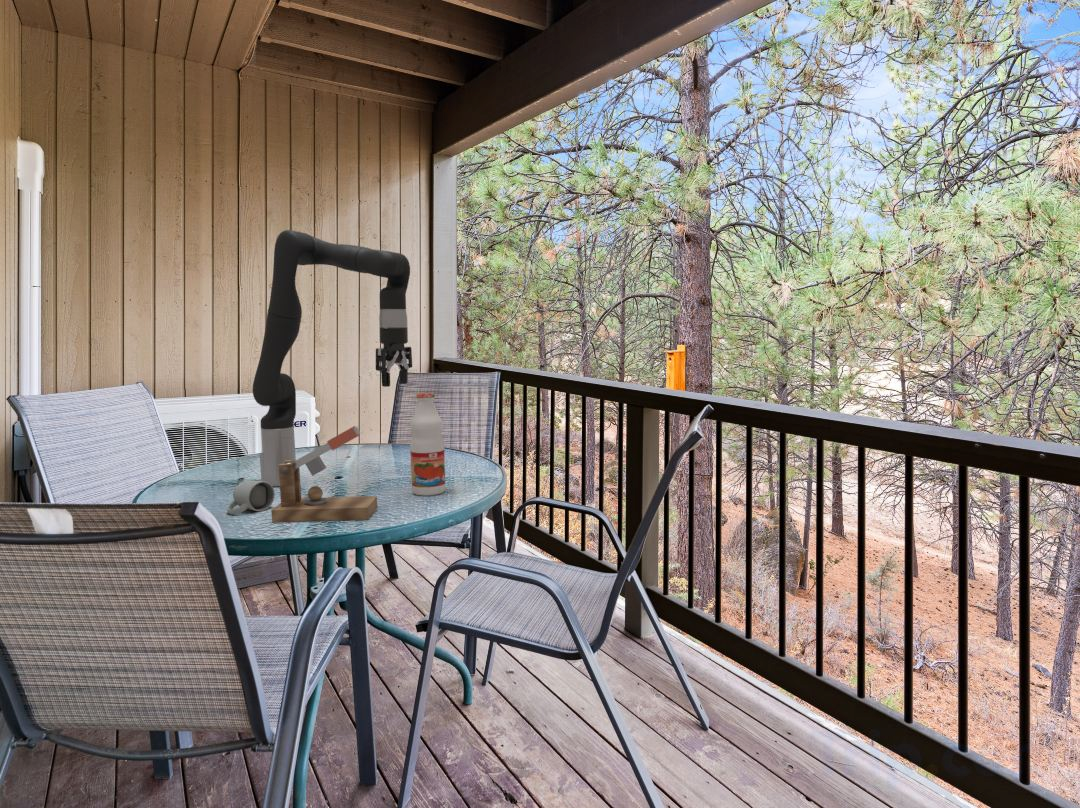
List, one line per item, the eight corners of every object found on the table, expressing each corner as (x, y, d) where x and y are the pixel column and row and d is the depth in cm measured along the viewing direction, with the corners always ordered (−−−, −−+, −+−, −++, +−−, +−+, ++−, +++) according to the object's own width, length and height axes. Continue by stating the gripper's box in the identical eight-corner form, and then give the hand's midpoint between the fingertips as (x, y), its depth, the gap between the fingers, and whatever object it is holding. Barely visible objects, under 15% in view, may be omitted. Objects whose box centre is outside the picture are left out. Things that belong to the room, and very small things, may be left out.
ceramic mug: (257, 503, 178) (254, 475, 177) (276, 507, 174) (274, 478, 173) (220, 513, 170) (217, 484, 169) (239, 518, 165) (236, 488, 164)
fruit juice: (440, 486, 194) (437, 391, 190) (449, 493, 185) (446, 393, 182) (408, 490, 190) (404, 392, 187) (416, 497, 181) (412, 395, 178)
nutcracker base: (272, 522, 160) (268, 467, 159) (287, 509, 171) (284, 458, 170) (368, 519, 161) (365, 464, 160) (377, 507, 172) (374, 456, 171)
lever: (291, 487, 164) (279, 467, 163) (295, 484, 167) (283, 465, 166) (365, 446, 163) (353, 426, 162) (368, 444, 166) (356, 424, 165)
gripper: (396, 326, 190) (398, 382, 192) (366, 326, 177) (368, 386, 179) (419, 326, 187) (420, 383, 189) (390, 326, 174) (391, 387, 176)
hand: (395, 385), depth 184 cm, fingers open, 8 cm apart
